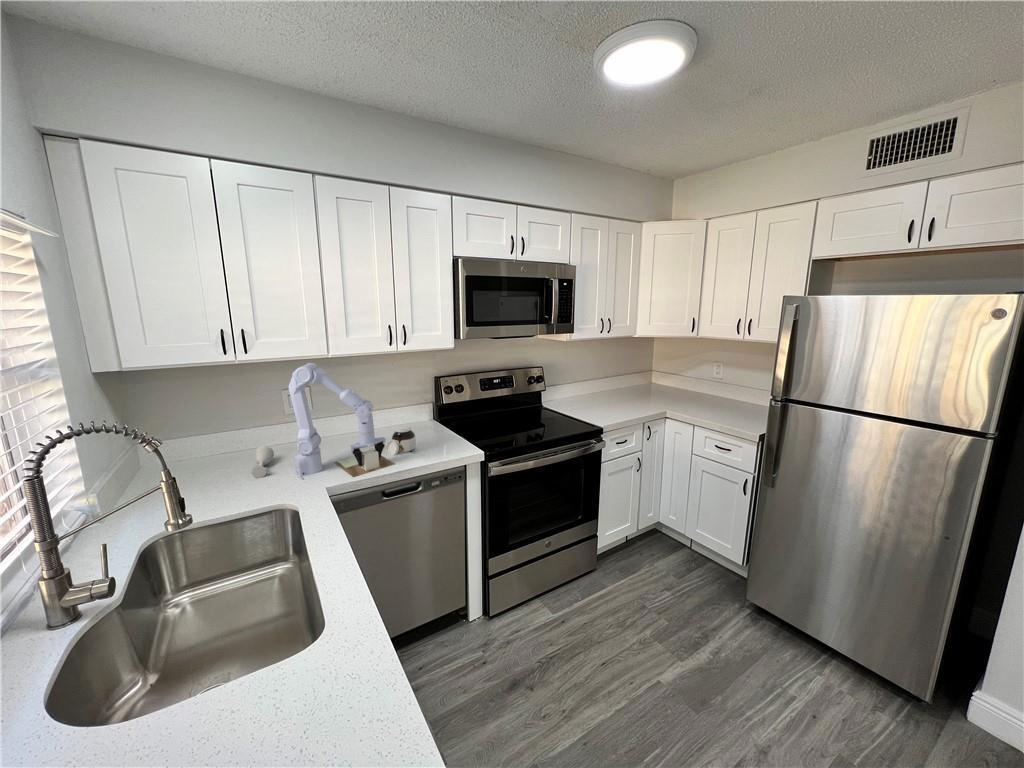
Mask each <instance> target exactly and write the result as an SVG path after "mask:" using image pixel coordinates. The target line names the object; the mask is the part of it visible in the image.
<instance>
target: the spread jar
mask: <svg viewBox="0 0 1024 768" xmlns="http://www.w3.org/2000/svg"><path fill="white" fill-rule="evenodd" d="M394 430H395V431H394V432H393V434H392V436H391V440H389V441H387V443H386V445H385V447H384V448H385V453H386V454H392V455H393V456H396V455H397V454H398V453H400V454H401V453H412V452H414V450H415V448H416V445H417V443H416V440H417V439H416V435H415V432H414V431H413V430H412V427H411V424H410V425H409V424H399V425H397V426H395V427H394Z"/></svg>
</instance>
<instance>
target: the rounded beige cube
mask: <svg viewBox="0 0 1024 768" xmlns="http://www.w3.org/2000/svg"><path fill="white" fill-rule="evenodd" d="M360 451H361V452H362V467H361V468H363V469H364V470H366V471H367V470H371V469H374V468H377V467H379V456H378V451H376V450H375V448H373V447H371V448H368V449H364V450H360Z"/></svg>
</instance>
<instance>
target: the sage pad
mask: <svg viewBox="0 0 1024 768" xmlns="http://www.w3.org/2000/svg"><path fill="white" fill-rule="evenodd" d="M336 462H338V463H340V464H341V465H342V466H344V467H345V468H349V467H352V466H356V465H358V462H357V459H356V457H355V456H351V457H348V458H345V459H341V460H337V461H336Z"/></svg>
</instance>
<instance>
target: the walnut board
mask: <svg viewBox="0 0 1024 768" xmlns="http://www.w3.org/2000/svg"><path fill="white" fill-rule="evenodd" d="M333 464H334V465H336V466H337V467H338V468H340V469H341V470H343V472H346V473H347V474H348V475H350V476H351V477H352V478H356V477H360V476H362V475H365V474H369V473H371V472H375V471H379V470H381V469H385V468H388V467H392V466H394V465H396V463H395V462H393V461H392V460H390V459H388V458H386V457H385V456H382V455H381V458H380V461H379V467H377V468H374V469H371V470H367V471H366V470H364V469H363V468H361V467H360V466H359V465H356V466H352V467H349V468H345V467H344V466H342V465H341V464H340V463H338V462H337V461H335V462H333Z"/></svg>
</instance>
